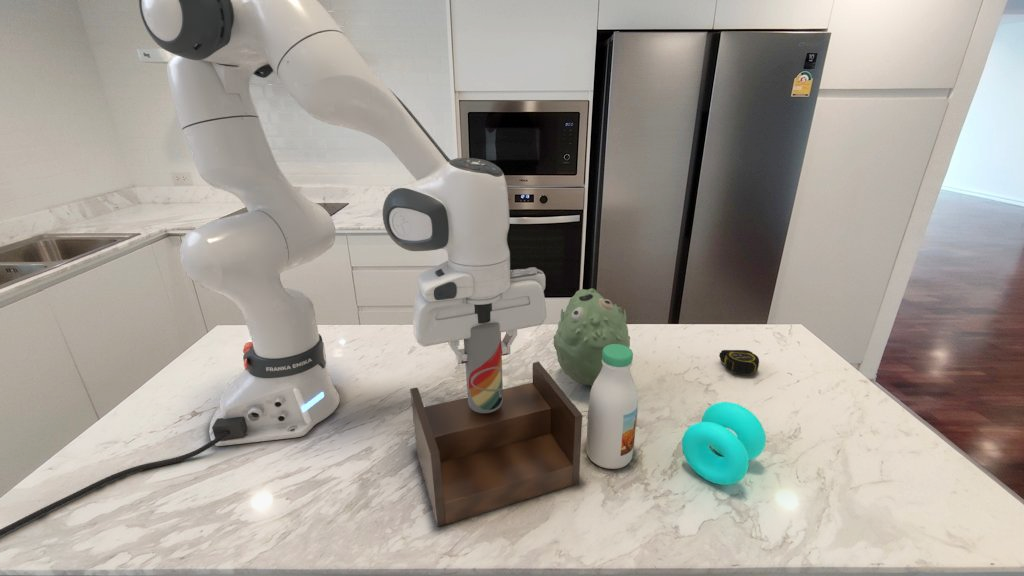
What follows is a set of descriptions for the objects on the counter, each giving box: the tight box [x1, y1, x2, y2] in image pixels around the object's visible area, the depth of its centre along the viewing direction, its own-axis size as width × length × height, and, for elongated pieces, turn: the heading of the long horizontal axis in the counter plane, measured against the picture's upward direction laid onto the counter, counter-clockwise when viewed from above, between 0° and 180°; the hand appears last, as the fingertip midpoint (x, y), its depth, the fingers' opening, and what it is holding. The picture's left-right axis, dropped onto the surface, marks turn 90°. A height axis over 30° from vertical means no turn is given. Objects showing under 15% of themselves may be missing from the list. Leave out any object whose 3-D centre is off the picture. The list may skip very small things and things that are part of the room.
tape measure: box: [718, 349, 760, 376], centre depth 104 cm, size 7×7×4 cm
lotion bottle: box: [463, 303, 504, 413], centre depth 74 cm, size 6×6×20 cm
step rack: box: [409, 361, 583, 527], centre depth 76 cm, size 22×16×13 cm
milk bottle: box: [585, 344, 639, 470], centre depth 77 cm, size 8×8×20 cm
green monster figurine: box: [553, 288, 631, 386], centre depth 98 cm, size 16×19×20 cm
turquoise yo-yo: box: [681, 401, 767, 486], centre depth 76 cm, size 10×10×10 cm
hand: (483, 357), depth 75 cm, fingers closed on lotion bottle, 5 cm apart
